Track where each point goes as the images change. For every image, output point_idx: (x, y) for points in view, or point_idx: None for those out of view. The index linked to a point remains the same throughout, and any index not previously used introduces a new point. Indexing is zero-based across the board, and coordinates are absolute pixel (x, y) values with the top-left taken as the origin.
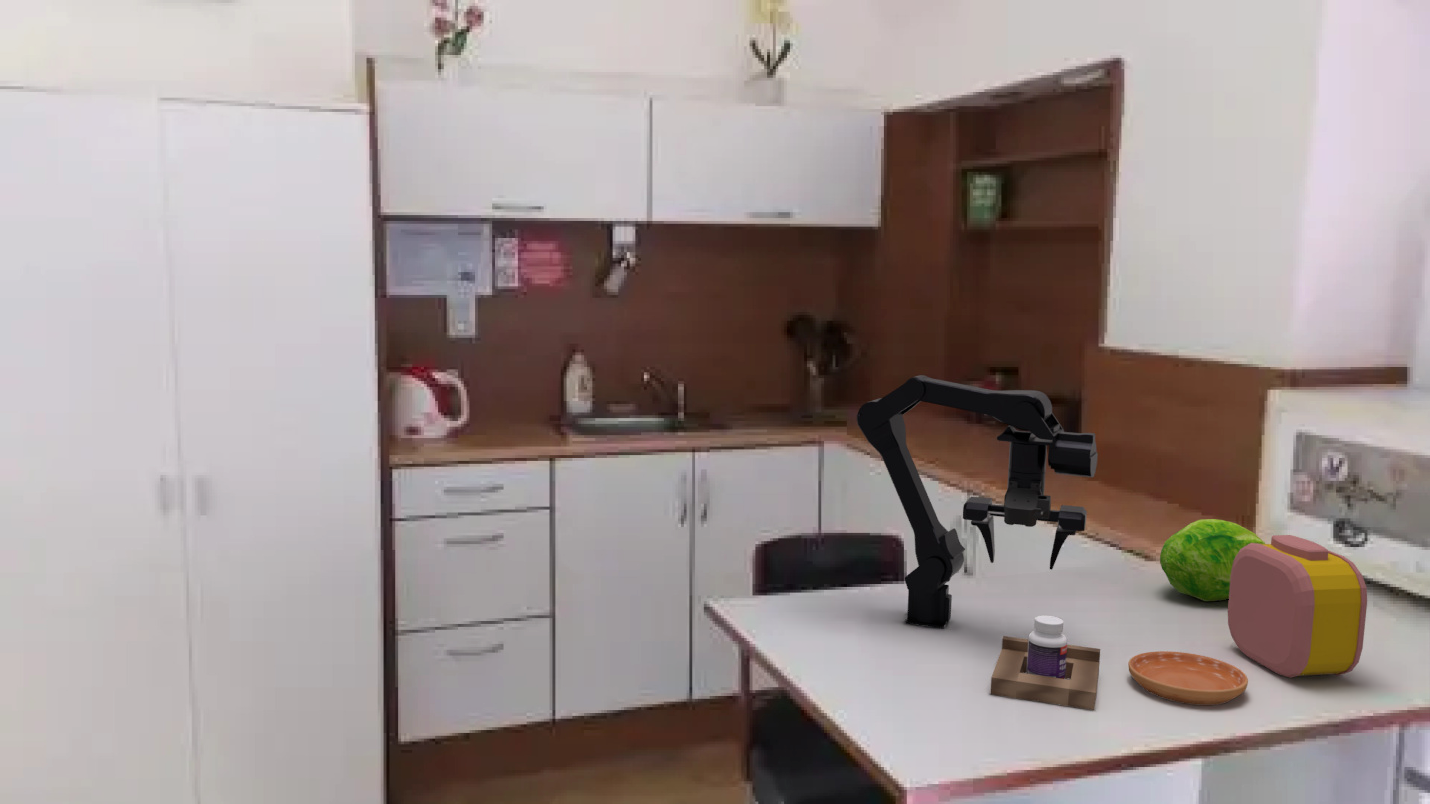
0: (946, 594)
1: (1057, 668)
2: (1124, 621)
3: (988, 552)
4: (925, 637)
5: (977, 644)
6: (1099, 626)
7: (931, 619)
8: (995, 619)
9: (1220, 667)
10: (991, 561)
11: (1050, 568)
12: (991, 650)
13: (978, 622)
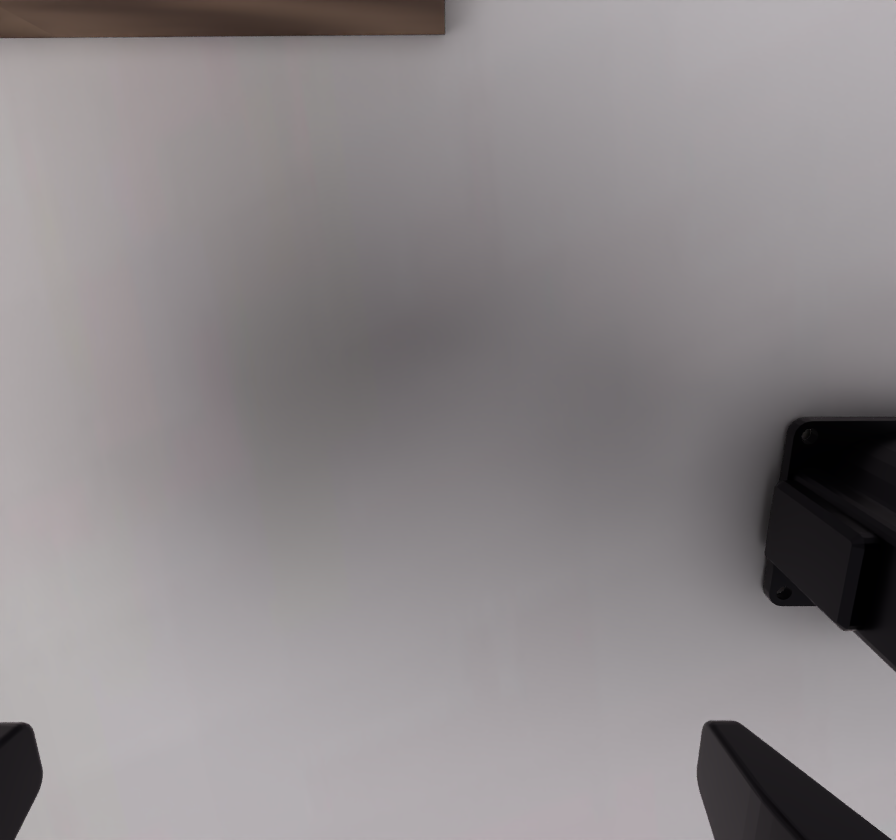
0: (891, 570)
1: None
2: None
3: (856, 816)
4: (878, 261)
5: (599, 266)
6: (97, 738)
7: (876, 448)
8: (544, 659)
9: None
10: (734, 726)
11: (10, 726)
12: (519, 200)
13: (618, 590)
